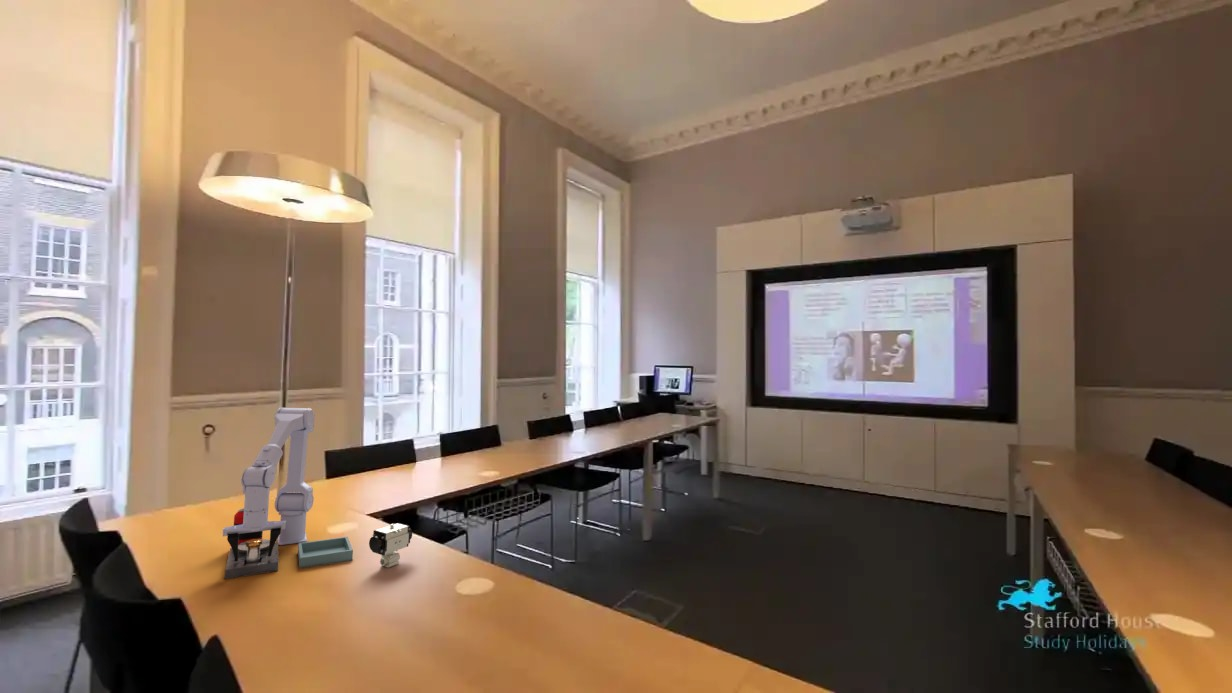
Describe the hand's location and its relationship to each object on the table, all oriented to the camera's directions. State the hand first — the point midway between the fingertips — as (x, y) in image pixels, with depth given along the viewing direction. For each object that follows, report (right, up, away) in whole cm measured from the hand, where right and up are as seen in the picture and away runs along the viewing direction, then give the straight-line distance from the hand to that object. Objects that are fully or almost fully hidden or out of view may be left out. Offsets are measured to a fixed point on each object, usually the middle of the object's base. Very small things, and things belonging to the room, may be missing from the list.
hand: (253, 557), depth 146 cm
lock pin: (0, -3, 0) cm, 3 cm away
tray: (+14, -4, +11) cm, 18 cm away
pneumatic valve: (+36, -5, +7) cm, 37 cm away
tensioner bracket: (-3, -3, +4) cm, 6 cm away
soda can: (-13, -4, +15) cm, 20 cm away
